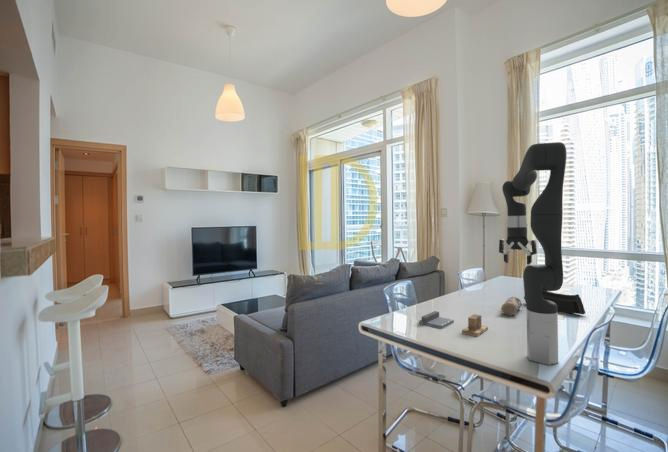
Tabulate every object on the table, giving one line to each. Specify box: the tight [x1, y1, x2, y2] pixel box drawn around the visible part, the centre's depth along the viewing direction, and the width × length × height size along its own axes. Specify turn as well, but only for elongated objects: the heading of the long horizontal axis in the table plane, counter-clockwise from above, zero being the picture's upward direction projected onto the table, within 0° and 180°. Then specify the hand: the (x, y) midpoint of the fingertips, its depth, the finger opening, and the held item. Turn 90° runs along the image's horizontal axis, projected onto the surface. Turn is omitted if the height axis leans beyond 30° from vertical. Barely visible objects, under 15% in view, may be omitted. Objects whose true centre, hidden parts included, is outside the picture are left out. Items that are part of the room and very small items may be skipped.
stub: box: [461, 313, 489, 337], centre depth 142 cm, size 12×7×7 cm, turn 135°
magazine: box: [523, 291, 586, 315], centre depth 173 cm, size 17×3×30 cm
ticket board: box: [418, 310, 455, 329], centre depth 156 cm, size 13×12×4 cm
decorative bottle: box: [500, 296, 522, 317], centre depth 174 cm, size 26×8×7 cm, turn 142°
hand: (517, 263), depth 140 cm, fingers open, 8 cm apart
